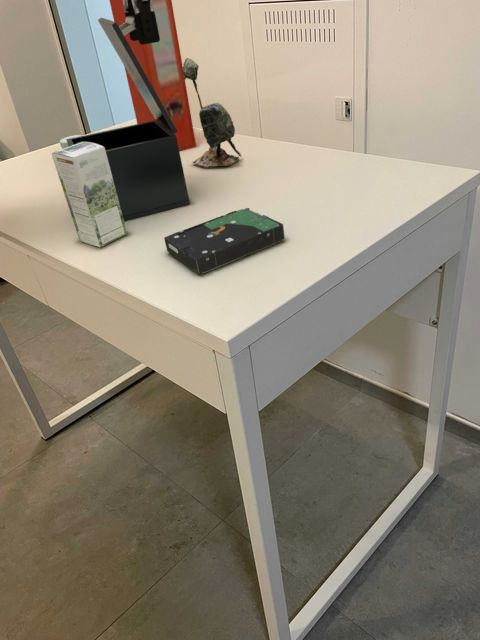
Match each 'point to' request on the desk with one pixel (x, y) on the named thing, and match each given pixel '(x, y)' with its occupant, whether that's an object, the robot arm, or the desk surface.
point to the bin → (143, 167)
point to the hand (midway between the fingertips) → (145, 40)
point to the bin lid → (135, 67)
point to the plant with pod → (212, 126)
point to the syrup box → (90, 193)
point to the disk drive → (224, 239)
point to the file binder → (161, 72)
